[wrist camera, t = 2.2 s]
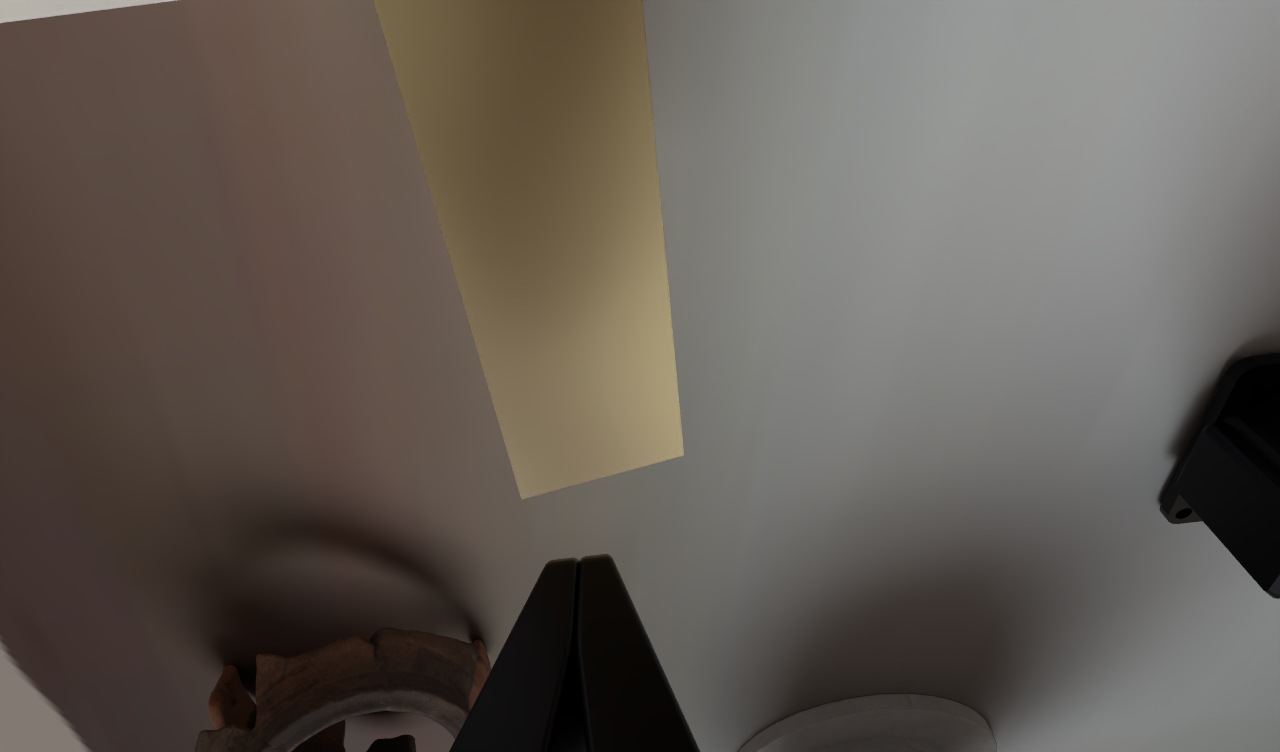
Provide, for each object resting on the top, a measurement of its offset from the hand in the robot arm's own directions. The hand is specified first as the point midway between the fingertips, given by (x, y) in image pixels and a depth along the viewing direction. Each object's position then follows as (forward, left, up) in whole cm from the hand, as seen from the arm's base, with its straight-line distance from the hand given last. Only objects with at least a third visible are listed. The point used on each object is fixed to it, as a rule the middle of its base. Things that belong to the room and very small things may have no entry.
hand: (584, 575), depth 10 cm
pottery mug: (+11, +17, -10) cm, 22 cm away
